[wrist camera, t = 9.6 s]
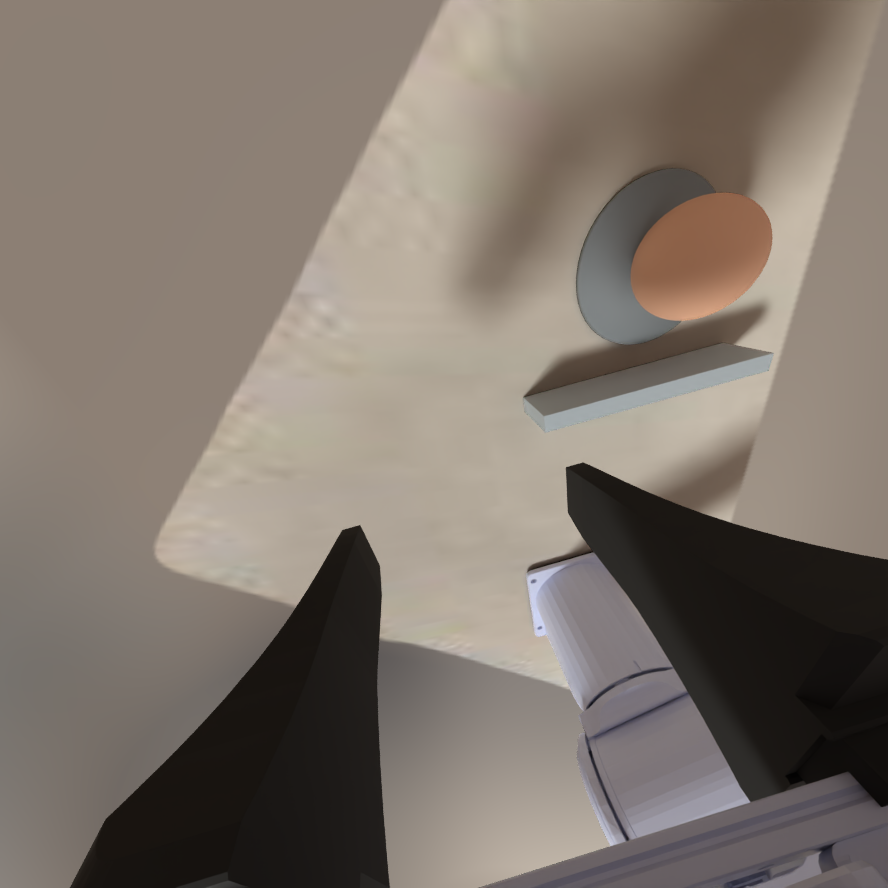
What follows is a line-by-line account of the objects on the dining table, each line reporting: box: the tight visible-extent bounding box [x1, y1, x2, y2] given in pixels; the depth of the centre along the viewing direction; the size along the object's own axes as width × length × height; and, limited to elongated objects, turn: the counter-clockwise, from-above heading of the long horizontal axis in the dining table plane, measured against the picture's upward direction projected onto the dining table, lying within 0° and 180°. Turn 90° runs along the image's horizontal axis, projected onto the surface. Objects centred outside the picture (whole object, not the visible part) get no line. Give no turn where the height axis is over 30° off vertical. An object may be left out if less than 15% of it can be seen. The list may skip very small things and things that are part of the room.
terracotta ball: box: [630, 193, 772, 321], centre depth 15 cm, size 5×5×5 cm
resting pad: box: [576, 168, 716, 344], centre depth 17 cm, size 8×8×1 cm
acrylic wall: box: [523, 343, 774, 433], centre depth 19 cm, size 1×13×3 cm, turn 103°
